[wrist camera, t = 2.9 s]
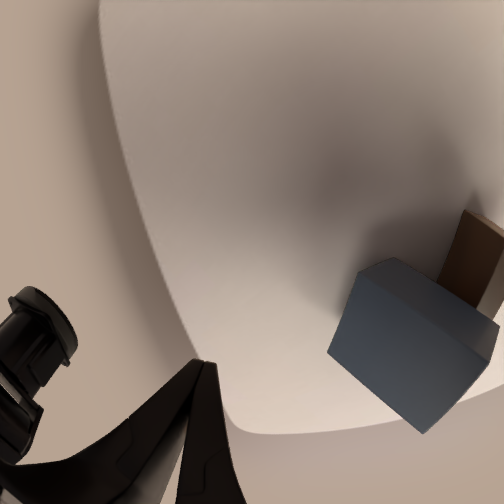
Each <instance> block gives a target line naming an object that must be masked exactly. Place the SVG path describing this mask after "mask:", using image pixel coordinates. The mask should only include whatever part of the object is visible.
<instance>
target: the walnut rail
mask: <svg viewBox="0 0 504 504" xmlns="http://www.w3.org/2000/svg"><path fill="white" fill-rule="evenodd" d="M437 284H439V285H440V286H442V287H443V288H445V289H446V290H448V291H449V292H451V293H453V294H454V295H456V296H457V297H459V298H460V299H462V300H463V301H465V302H466V303H468V304H469V305H471V306H472V307H474V308H475V309H477V310H478V311H479V312H481V313H482V314H484V315H485V316H487V317H488V318H489V319H491V320H493V319H494V317H495V315H496V313H497V312H498V310H499V308H500V306H501V304H502V303H503V301H504V230H503V229H502V228H500V227H499V226H498V225H496V224H495V223H493V222H492V221H490V220H489V219H487V218H486V217H483V216H481V215H478V214H475V213H473V212H470V211H467V210H464V212H463V215H462V218H461V221H460V224H459V227H458V230H457V233H456V236H455V239H454V241H453V244H452V247H451V249H450V252H449V254H448V257H447V259H446V262H445V264H444V267H443V269H442V271H441V274H440V276H439V278H438V280H437Z"/></svg>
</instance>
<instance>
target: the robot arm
mask: <svg viewBox="0 0 504 504" xmlns="http://www.w3.org/2000/svg"><path fill="white" fill-rule="evenodd" d="M8 302H9V304H10V307H11V309H12V313H11V314H10V315H9V316H8V317H7V318H6V319H5V320H4V322H2V323H1V324H0V383H1V384H2V385H3V386H4V388H5V389H6V390H7V391H8V392H9V393H10V394H11V395H12V396H13V397H14V398H15V399H16V400H15V399H14V398H13V397H12V396H11V395H10V394H9V393H8V392H7V391H6V390H5V389H4V388H3V386H2V385H1V384H0V504H160V502H161V499H162V497H163V494H164V492H165V490H166V487H167V485H168V482H169V479H170V477H171V475H172V472H173V470H174V467H175V465H176V462H177V460H178V457H179V455H180V452H181V450H182V447H183V445H184V448H183V455H182V461H181V468H180V474H179V481H178V488H177V497H176V502H175V504H247V503H246V501H245V498H244V496H243V493H242V491H241V488H240V485H239V483H238V480H237V477H236V474H235V471H234V468H233V463H232V458H231V453H230V447H229V442H228V437H227V431H226V424H225V418H224V412H223V405H222V399H221V392H220V385H219V377H218V370H217V364H216V363H214V362H209V361H205V362H204V360H200V359H196V358H194V359H192V360H191V361H190V362H188V363H187V364H186V365H185V366H184V367H183V368H182V369H181V370H180V371H179V372H178V373H177V374H176V375H175V376H173V377H172V378H171V379H170V380H169V381H168V382H167V383H166V384H165V385H164V386H163V387H161V388H160V389H159V390H158V391H157V392H156V393H155V394H154V395H153V396H152V397H150V398H149V399H148V400H147V401H146V402H145V403H144V404H143V405H141V406H140V407H139V408H138V409H137V410H136V411H135V412H134V413H133V414H131V415H130V416H129V419H128V418H127V419H125V420H124V421H123V422H122V423H121V424H120V425H119V426H117V427H116V428H115V429H114V430H112V431H111V432H110V433H108V434H107V435H105V436H104V437H102V438H101V439H99V440H98V441H96V442H95V443H93V444H92V445H90V446H88V447H87V448H85V449H83V450H82V451H80V452H79V453H77V454H75V455H73V456H71V457H69V458H67V459H64V460H61V461H54V462H46V463H38V464H26V465H15V464H16V463H17V462H19V461H20V460H21V459H22V458H23V457H24V456H25V455H26V454H27V453H28V451H29V450H30V448H31V445H32V443H33V439H34V436H35V433H36V430H37V428H38V425H39V422H40V419H41V417H42V414H43V411H44V409H43V408H42V407H41V406H40V405H38V404H37V403H36V402H35V401H34V400H33V397H34V396H35V394H36V393H37V392H38V390H39V389H40V387H44V386H45V385H46V384H47V382H48V381H49V380H50V378H51V377H52V375H53V374H54V372H55V371H56V370H57V368H58V367H59V365H60V364H62V365H64V366H66V367H68V366H69V365H70V361H69V359H68V357H67V355H66V352H65V350H64V348H63V346H62V344H61V341H60V339H59V337H58V334H57V332H56V329H55V327H54V324H53V322H52V319H51V317H50V316H49V315H48V314H47V313H45V312H42V311H40V310H38V309H36V308H34V307H32V306H30V305H28V304H26V303H24V302H22V301H20V300H18V299H16V298H14V297H12V296H11V297H9V299H8ZM17 402H18V403H19V404H18V403H17Z"/></svg>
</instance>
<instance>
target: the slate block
mask: <svg viewBox="0 0 504 504" xmlns="http://www.w3.org/2000/svg"><path fill="white" fill-rule="evenodd" d="M499 328H500V326H499V325H498V324H496V323H495V322H494V321H492V320H491V319H489V318H488V317H487V316H485V315H484V314H482V313H481V312H479V311H478V310H477V309H475V308H474V307H472V306H471V305H469V304H468V303H466V302H465V301H463V300H462V299H460V298H459V297H457V296H456V295H454V294H453V293H451V292H449V291H448V290H446V289H445V288H443V287H442V286H440V285H439V284H437V283H435V282H434V281H432V280H431V279H429V278H427V277H426V276H424V275H422V274H421V273H419V272H418V271H416V270H414V269H413V268H411V267H409V266H408V265H406V264H404V263H402V262H401V261H399V260H397V259H396V258H391V259H389V260H386V261H384V262H382V263H379V264H377V265H374V266H372V267H370V268H367V269H365V270H362V271H360V272H358V274H357V277H356V280H355V283H354V286H353V288H352V291H351V294H350V297H349V299H348V302H347V305H346V307H345V310H344V312H343V315H342V317H341V320H340V322H339V325H338V327H337V330H336V332H335V335H334V337H333V339H332V342H331V344H330V346H329V349H328V351H327V353H328V354H329V355H330V356H331V357H332V358H334V359H335V360H336V361H337V362H338V363H339V364H340V365H342V366H343V367H344V368H345V369H346V370H347V371H348V372H350V373H351V374H352V375H353V376H354V377H355V378H356V379H358V380H359V381H360V382H361V383H362V384H363V385H365V386H366V387H367V388H368V389H369V390H370V391H371V392H373V393H374V394H375V395H376V396H377V397H379V398H380V399H381V400H382V401H383V402H384V403H386V404H387V405H388V406H389V407H390V408H391V409H393V410H394V411H395V412H396V413H397V414H399V415H400V416H401V417H402V418H403V419H405V420H406V421H407V422H408V423H409V424H411V425H412V426H413V427H414V428H416V429H417V430H418V431H419V432H420V433H422V434H424V433H426V432H427V431H428V430H429V429H430V428H431V427H432V426H433V425H434V424H435V423H437V422H438V421H439V419H441V418H442V417H443V416H444V415H445V414H446V413H447V412H448V411H449V410H450V409H451V408H452V407H453V406H454V405H455V404H456V403H457V401H458V400H459V399H460V398H461V397H462V396H463V395H464V394H465V393H466V392H467V390H468V389H469V388H470V387H471V386H472V385H473V384H474V382H475V381H476V380H477V379H478V378H479V376H480V375H481V374H482V373H483V371H484V370H485V369H486V367H487V366H488V365H489V363H490V360H491V357H492V353H493V350H494V347H495V343H496V340H497V336H498V332H499Z"/></svg>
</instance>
